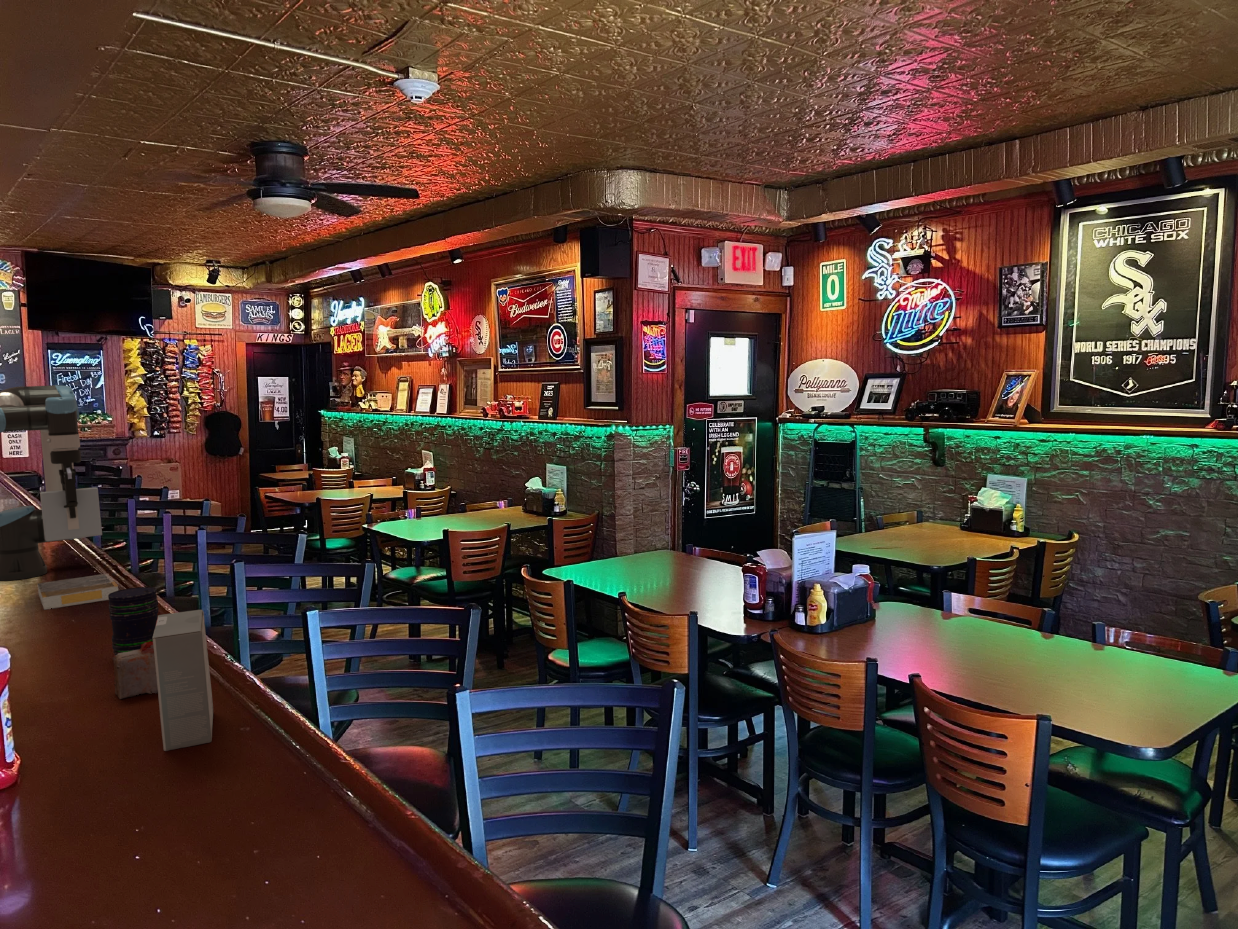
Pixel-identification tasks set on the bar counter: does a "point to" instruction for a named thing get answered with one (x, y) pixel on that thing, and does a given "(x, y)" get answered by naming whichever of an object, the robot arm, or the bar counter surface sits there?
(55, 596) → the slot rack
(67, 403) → the robot arm
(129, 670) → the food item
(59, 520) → the blanking panel
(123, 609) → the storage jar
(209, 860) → the bar counter surface
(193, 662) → the hard drive box
